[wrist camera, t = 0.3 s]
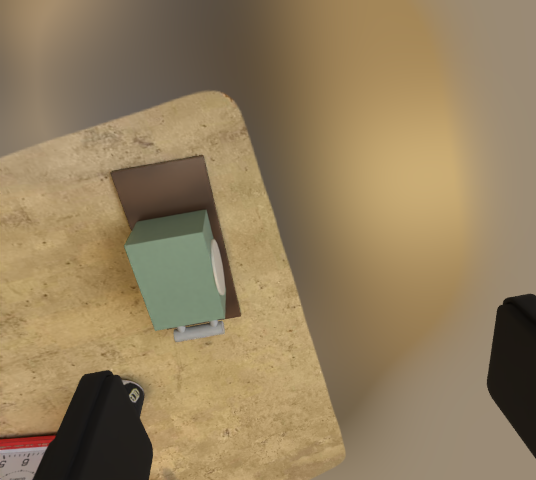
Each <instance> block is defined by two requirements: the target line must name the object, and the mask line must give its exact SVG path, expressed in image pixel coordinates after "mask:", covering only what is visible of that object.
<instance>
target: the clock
mask: <svg viewBox="0 0 536 480" xmlns="http://www.w3.org/2000/svg"><path fill="white" fill-rule="evenodd" d="M124 247H125V250H126V253H127V256H128V258H129V261H130V264H131V266H132V269H133V272H134V275H135V277H136V280H137V283H138V285H139V288H140V291H141V294H142V296H143V299H144V302H145V304H146V307H147V310H148V313H149V315H150V318H151V321H152V323H153V326H154V329H155V331H157V330H163V329H169V328H174V327H177V329H174V339H175V342H181V341H187V340H192V339H198V338H204V337H209V336H215V335H221V334H224V333H225V329H224V323H223V321H217V320H220V319H225V304H226V287H225V280H224V272H223V266H222V260H221V256H220V252H219V248H218V245H217V242H216V240H215V239H213V235H212V231H211V227H210V222H209V218H208V214H207V210H200V211H195V212H189V213H183V214H178V215H172V216H166V217H161V218H155V219H149V220H144V221H138V222H136V224H135V226H134V228H133V230H132V232H131V234H130V236H129V237H128V239H127V241H126V243H125V245H124ZM208 321H209V323H207V324H201V325H195V326H190V327H185V326H186V325H191V324H197V323H203V322H208Z"/></svg>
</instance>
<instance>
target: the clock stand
mask: <svg viewBox="0 0 536 480" xmlns="http://www.w3.org/2000/svg"><path fill="white" fill-rule="evenodd" d="M110 173H111V176H112V179H113V181H114V184H115V187H116V190H117V192H118V195H119V198H120V201H121V203H122V206H123V209H124V212H125V215H126V217H127V220H128V223H129V226H130V228H131V231H132V230H133V228H134V226H135V224H136V222H138V221H144V220H149V219H155V218H161V217H166V216H172V215H178V214H183V213H189V212H195V211H200V210H207V214H208V218H209V222H210V227H211V231H212V235H213V239H215V240H216V242H217V245H218V248H219V252H220V256H221V260H222V266H223V272H224V280H225V287H226V304H225V319H229V318H234V317H240V316H241V312H240V308H239V304H238V300H237V295H236V291H235V287H234V283H233V279H232V274H231V270H230V266H229V262H228V258H227V253H226V249H225V245H224V241H223V237H222V232H221V228H220V224H219V220H218V216H217V211H216V207H215V203H214V199H213V195H212V190H211V186H210V182H209V178H208V174H207V170H206V165H205V161H204V157H203V155H201V156H195V157H189V158H184V159H178V160H172V161H167V162H161V163H155V164H150V165H144V166H138V167H133V168H127V169H121V170H116V171H111V172H110ZM220 320H223V319H220ZM208 322H209V321H208ZM203 323H206V322H203ZM197 324H200V323H197ZM191 325H195V324H191ZM186 326H189V325H186ZM174 328H177V327H174ZM169 329H172V328H169Z"/></svg>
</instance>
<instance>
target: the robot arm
mask: <svg viewBox="0 0 536 480" xmlns="http://www.w3.org/2000/svg"><path fill="white" fill-rule="evenodd" d="M487 387H488V391H489V393H490V395H491V397H492V399H493V400H494V401H495V403H496V404H497V406H498V407H499V408H500V410H501V411H502V412H503V414H504V415H505V416H506V418H507V419H508V421H509V422H510V423H511V425H512V426H513V428H514V429H515V431H516V432H517V433H518V435H519V436H520V437H521V439H522V440H523V441H524V443H525V444H526V446H527V447H528V449H529V450H530V451H531V453H532V454H533V455H534V457H535V458H536V296H535V295H533V294H526V295H520V296H515V297H509V298H506V299H505V300H504V301H503V305H500V306H499V307H498V309H497V315H496V322H495V329H494V336H493V343H492V350H491V357H490V364H489V371H488V377H487ZM152 458H153V448H152V444H151V441H150V439H149V437H148V435H147V433H146V431H145V429H144V426H143V424H142V422H141V420H140V418H139V416H138V414H137V411H136V409H135V407H134V405H133V403H132V401H131V399H130V397H129V394H128V392H127V390H126V388H125V386H124V384H123V382H122V380H121V378H120V376H119V375H113V373H112V372H111V371H109V370H106V371H101V372H95V373H90V374H85V375H84V376H82V378H81V380H80V382H79V384H78V386H77V389H76V391H75V393H74V396H73V398H72V400H71V402H70V405H69V407H68V409H67V412H66V414H65V416H64V418H63V421H62V423H61V425H60V427H59V430H58V432H57V434H56V437H55V438H54V439H53V440H52V441H51V442H50V443H49V445H48V447H47V449H46V450H45V453H44V455H43V457H42V459H41V462H40V464H39V466H38V468H37V470H36V473H35V475H34V477H33V479H32V480H149V475H150V469H151V464H152Z"/></svg>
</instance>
